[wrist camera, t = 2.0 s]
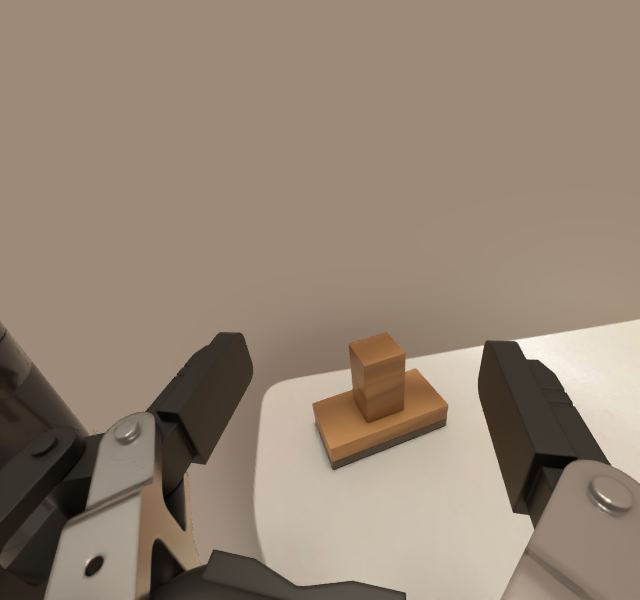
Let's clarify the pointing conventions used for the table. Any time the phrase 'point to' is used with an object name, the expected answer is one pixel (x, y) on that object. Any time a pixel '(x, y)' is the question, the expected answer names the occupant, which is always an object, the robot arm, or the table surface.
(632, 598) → the robot arm
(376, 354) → the eraser
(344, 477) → the table surface
